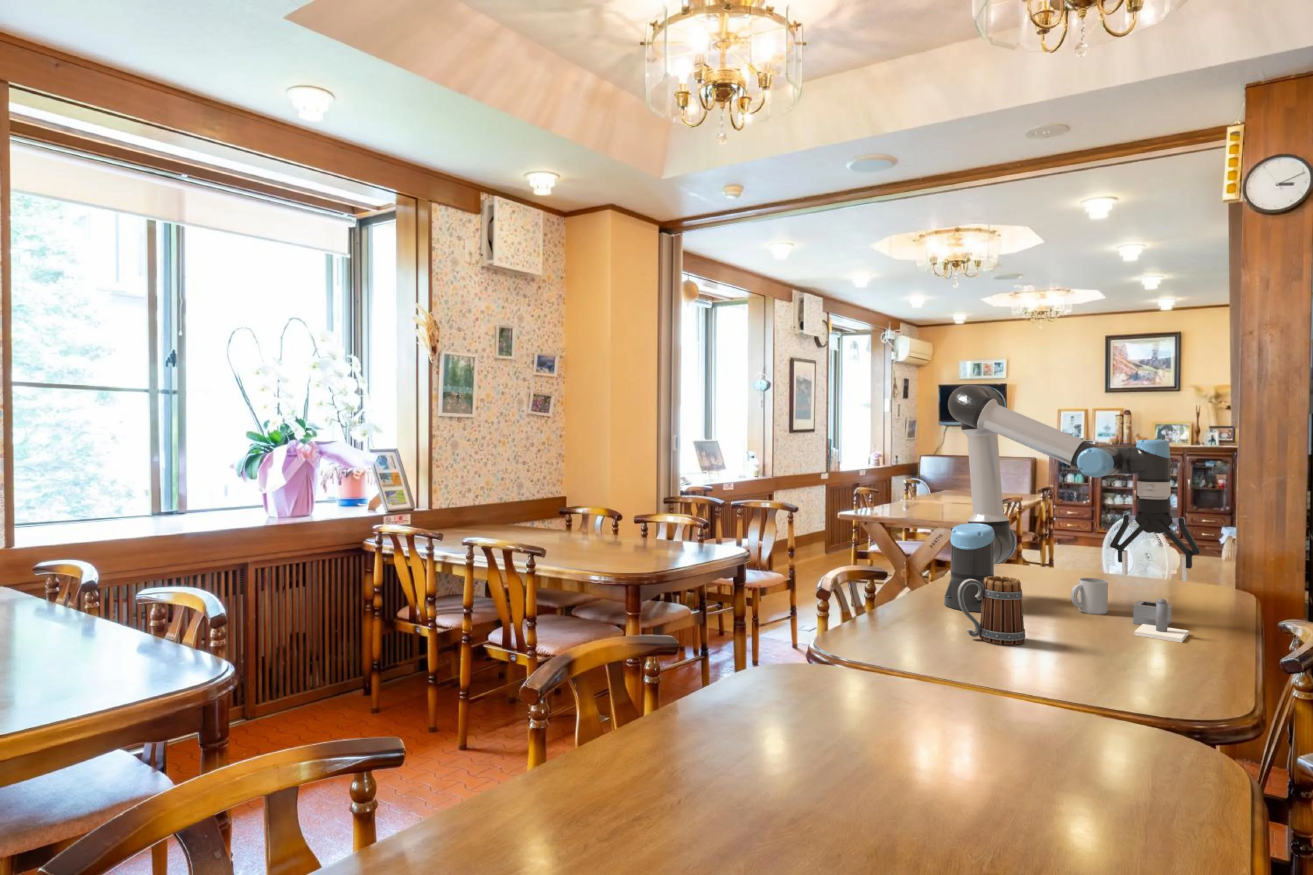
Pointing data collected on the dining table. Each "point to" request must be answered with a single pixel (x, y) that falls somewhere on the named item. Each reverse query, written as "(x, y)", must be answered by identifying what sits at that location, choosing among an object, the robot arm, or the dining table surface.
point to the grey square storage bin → (1148, 613)
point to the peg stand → (1161, 626)
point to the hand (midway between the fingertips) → (1154, 577)
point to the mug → (997, 610)
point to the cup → (1091, 596)
